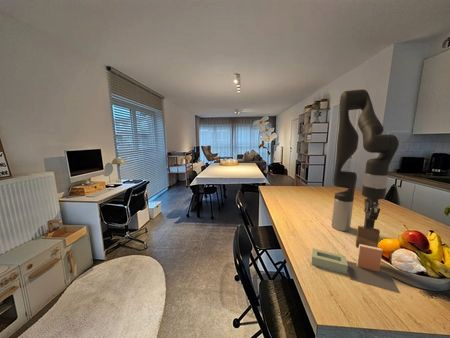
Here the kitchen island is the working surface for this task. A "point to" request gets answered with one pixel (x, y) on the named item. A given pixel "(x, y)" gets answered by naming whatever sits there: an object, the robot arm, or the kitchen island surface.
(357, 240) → the brown wooden block
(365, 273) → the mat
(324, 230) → the kitchen island surface
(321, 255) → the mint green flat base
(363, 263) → the tile
